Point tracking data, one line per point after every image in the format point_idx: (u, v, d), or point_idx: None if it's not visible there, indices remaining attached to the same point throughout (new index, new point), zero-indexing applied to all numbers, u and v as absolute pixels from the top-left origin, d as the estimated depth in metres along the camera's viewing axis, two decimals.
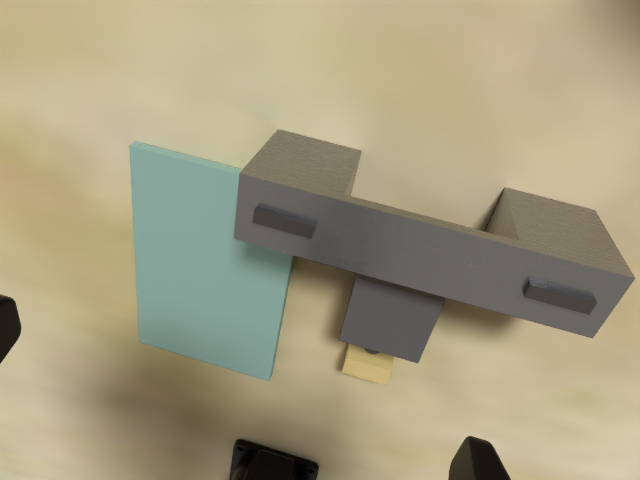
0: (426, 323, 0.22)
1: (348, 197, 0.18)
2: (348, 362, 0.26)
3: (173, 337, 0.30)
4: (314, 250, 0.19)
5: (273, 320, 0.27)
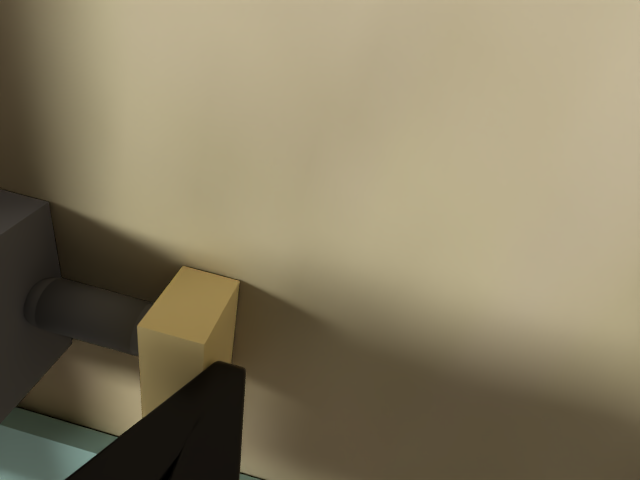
0: None
1: None
2: None
3: None
4: None
5: None
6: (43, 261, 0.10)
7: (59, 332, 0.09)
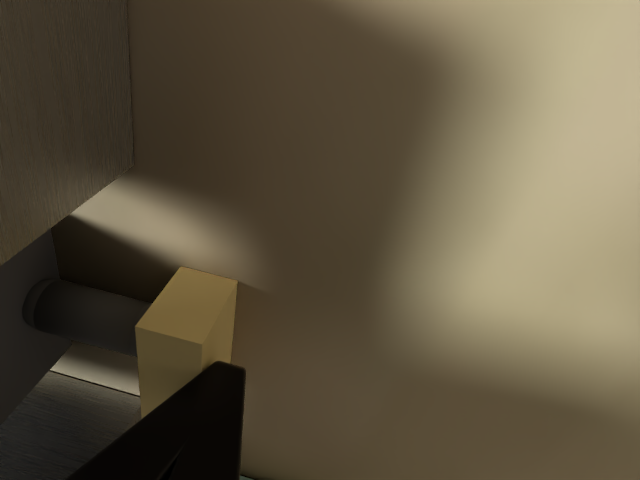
0: None
1: None
2: None
3: None
4: None
5: None
6: (41, 263, 0.10)
7: (58, 333, 0.09)
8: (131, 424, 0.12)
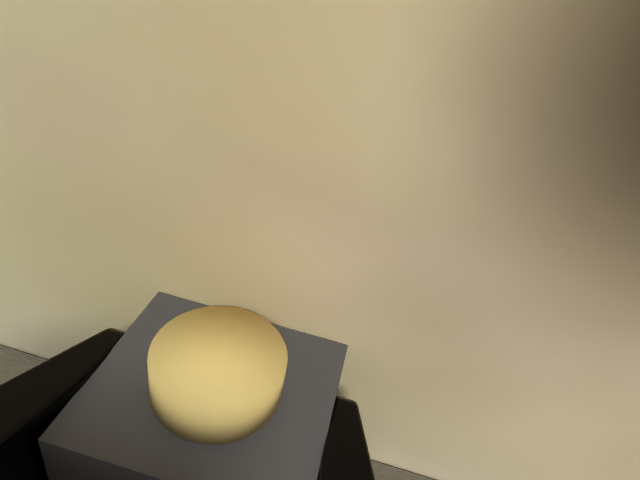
0: None
1: None
2: None
3: None
4: None
5: None
6: None
7: None
8: None
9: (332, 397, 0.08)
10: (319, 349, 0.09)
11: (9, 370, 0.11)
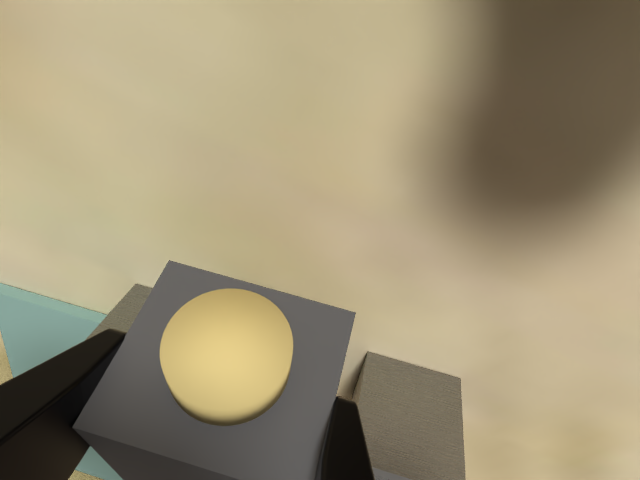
0: None
1: None
2: None
3: None
4: None
5: None
6: None
7: None
8: None
9: (338, 372, 0.09)
10: (327, 319, 0.09)
11: None
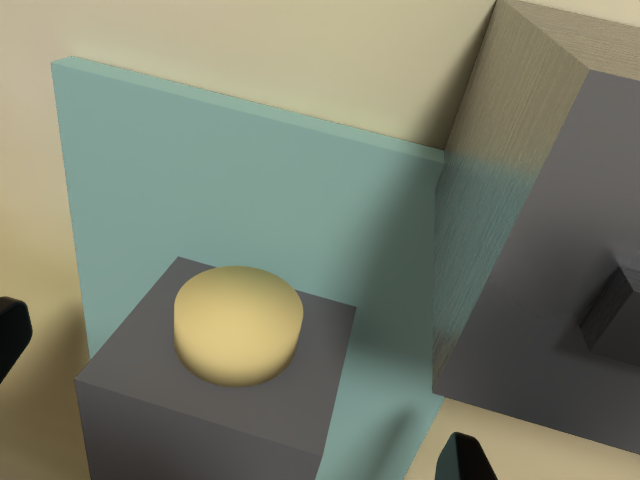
0: None
1: None
2: None
3: None
4: None
5: (391, 471, 0.13)
6: None
7: None
8: None
9: (343, 350, 0.09)
10: (330, 309, 0.10)
11: (628, 28, 0.06)
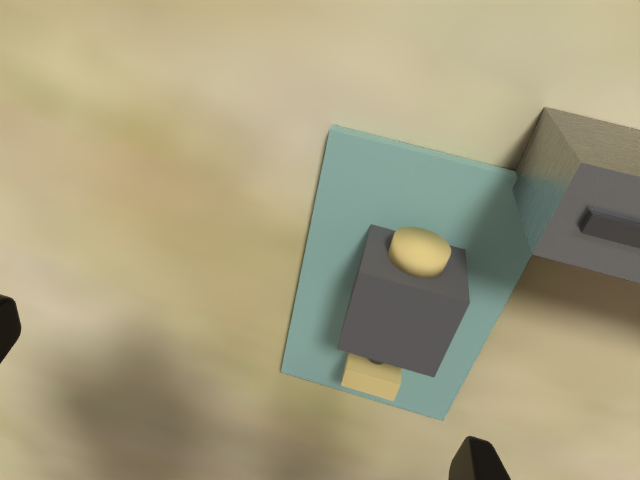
0: (446, 329, 0.17)
1: None
2: (348, 374, 0.22)
3: (328, 368, 0.25)
4: None
5: (471, 350, 0.22)
6: None
7: None
8: None
9: (465, 267, 0.18)
10: (453, 250, 0.19)
11: (598, 124, 0.16)
